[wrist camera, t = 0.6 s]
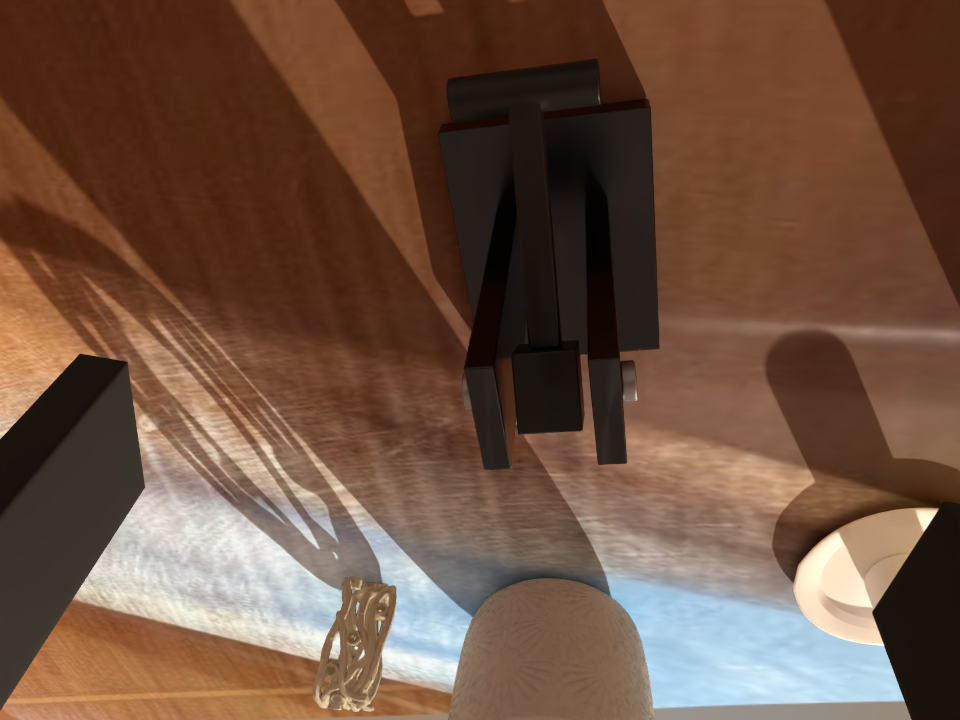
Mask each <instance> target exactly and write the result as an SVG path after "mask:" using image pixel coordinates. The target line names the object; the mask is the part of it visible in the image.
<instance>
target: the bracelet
mask: <svg viewBox="0 0 960 720" xmlns="http://www.w3.org/2000/svg"><path fill="white" fill-rule="evenodd" d="M362 581H363V580H362V579H360V578H356V577H350V578H345V579H344V580H343V584H342V585H343V591H342V601H343V604H342V607H341V610H340V611H338V612H337V613H336V620H335V622H334V624H333V626H332V627H331V629H330V631H329V633H328V635H327V637H326V640H325V642H324V645H323V648H322V653H321V659H320V665H319V670H318V674H317V677H316V680H315V682H314V685H313V698H314V700H315V702H316V703H317V704H318V706H320V707H322V708H324V709H326V708H329V709H334V710H341V708H342V709H347V710H350V709H351V710H352V712H353V711H354V712H356V711H357V712H358V711H359V710H360V709H362V710H365V711H366V712H371V711H373V710H374V707H373V706H372V705H371V704H370V703H371V701H372V700H373V698H374V696H375V695H376V693H377V689H378V686H379V682H380V679H381V675H382V655H381V654H382V651H383V648H384V645H385V642H386V640H387V637H388V634H389V631H390V629H391V625H392V622H393V619H394V615H395V610H396V603H397V596H396V587H395V586H390V587H389V586H388V584H376V583H371V582H365V583H363V586H362ZM361 586H362V587H361ZM352 589H355V590H356V591H355V592H354V593H353V594H352ZM382 600H383V602H384V603H381V601H382ZM357 601H358V602H359V603H360V604H359V607H358V611H357V614H356V604H357ZM378 620H381V627H380V631H379V634H378ZM356 627H357V628H358V631H356ZM338 632H339V633H340V648H341V650H340V655H339V657H338V659H337V660H336V659H332V658H330V659H329V656H330V651H331V648H332V644H333V641H334V640H335V638H336V636H337V634H338ZM355 637H356V638H355ZM354 638H355V640H354ZM360 640H361V643H360ZM355 646H357V647H358V649H357V650H355V649H354V647H355ZM363 650H364V651H365V655H364V657H363V658H361V659H360V660H359V658H360V656H361V654H362V652H363ZM358 660H359V661H358ZM330 666H333V668H332V667H330ZM347 666H348V670H347ZM361 670H362V672H361ZM360 672H361V674H360V676H359V678H358V680H357V677H358V675H359V673H360ZM325 676H328V677H331V679H330V685H329V686H328V687H327V688H326V689H325V690H324V691H323V693H322V692H321V688H322V685H323V682H324V679H325ZM369 688H371V690H370V692H369V694H368V695H367V690H368V689H369Z"/></svg>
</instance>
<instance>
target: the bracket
mask: <svg viewBox="0 0 960 720" xmlns="http://www.w3.org/2000/svg"><path fill="white" fill-rule="evenodd" d="M543 114H544V126H545V138H546V151H547V163H548V175H549V187H550V200H551V212H552V224H553V236H554V248H555V261H556V273H557V285H558V297H559V310H560V322H561V334H562V341H570V340H578V341H579V350H580V355H581V354H588V368H589V378H590V388H591V399H592V409H593V420H594V430H595V440H596V451H597V461H598V465H605V464H626V463H627V453H626V438H625V424H624V409H623V401H636V400H637V381H636V369H635V362H634V361H633V360H630V361H621V362H620V352H623V351H637V350H651V349H659V321H658V294H657V267H656V239H655V212H654V185H653V157H652V130H651V107H650V103H649V99H642V100H634V101H626V102H618V103H610V104H602V105H595V106H587V107H579V108H571V109H563V110H555V111H547V112H543ZM438 136H439V141H440V147H441V152H442V157H443V163H444V168H445V174H446V179H447V184H448V190H449V195H450V201H451V206H452V211H453V217H454V222H455V228H456V233H457V238H458V244H459V249H460V255H461V260H462V265H463V271H464V276H465V281H466V287H467V292H468V298H469V303H470V308H471V314H472V319H473V327H472V332H471V337H470V342H469V347H468V351H467V356H466V361H465V366H464V374H463V377H462V397H463V403H464V407H465V409H466V410H467V411H472V413H473V418H474V423H475V428H476V433H477V438H478V443H479V448H480V453H481V458H482V463H483V468H484V470H494V469H510V468H511V466H512V456H513V447H514V437H515V427H516V406H515V395H514V384H513V373H512V362H511V354H512V353H513V352H514V350H515V349H516V348H517V346H518V345H519V344H529V343H528V332H527V320H526V309H525V298H524V286H523V275H522V264H521V252H520V241H519V230H518V218H517V207H516V195H515V184H514V173H513V161H512V150H511V139H510V127H509V116H506V117H498V118H490V119H482V120H474V121H466V122H457V123H448V124H442V125H441V128H440V130H439V132H438Z"/></svg>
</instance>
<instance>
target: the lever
mask: <svg viewBox="0 0 960 720" xmlns="http://www.w3.org/2000/svg"><path fill="white" fill-rule="evenodd" d="M447 101H448V108H449V112H450V116H451V118H452V120H453V122H455V123H457V122H466V121H474V120H482V119H490V118H498V117H506V116H509V127H510V139H511V150H512V161H513V173H514V184H515V195H516V207H517V218H518V230H519V241H520V252H521V264H522V275H523V286H524V298H525V309H526V320H527V332H528V343H529V344H519V345H518V346H517V348H516V349H515V350H514V352H513V353H512V354H511V362H512V373H513V384H514V395H515V406H516V417H517V428H518V434H520V435H521V434H539V433H557V432H576V431H582V430H583V423H584V415H585V413H584V401H583V388H582V375H581V362H580V350H579V341H578V340H570V341H562V334H561V322H560V310H559V297H558V285H557V273H556V261H555V248H554V236H553V224H552V212H551V200H550V187H549V175H548V163H547V151H546V138H545V126H544V114H543V112H547V111H555V110H563V109H571V108H579V107H587V106H595V105H600V104H601V88H600V74H599V61H598V59H591V60H583V61H576V62H568V63H561V64H553V65H546V66H538V67H531V68H523V69H516V70H508V71H501V72H493V73H486V74H478V75H471V76H463V77H456V78H450V79H448V81H447Z"/></svg>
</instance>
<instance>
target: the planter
mask: <svg viewBox="0 0 960 720" xmlns="http://www.w3.org/2000/svg"><path fill="white" fill-rule="evenodd" d="M448 720H655V717H654V709H653V701H652V693H651V687H650V680H649V674H648V668H647V663H646V658H645V654H644V650H643V646H642V642H641V638H640V635H639V633H638V631H637V628H636V626H635V624H634V622H633V620H632V619H631V617H630V616H629V614H628V613H627V612H626V610H625V609H624V608H623V607H622V606H621V605H620V604H619V603H618V602H617V601H615V600H614V599H613V598H612V597H610V596H609V595H607V594H606V593H604V592H602V591H600V590H598V589H596V588H594V587H591V586H589V585H586V584H583V583H580V582H576V581H572V580H567V579H558V578H539V579H531V580H526V581H522V582H518V583H515V584H512V585H510V586H507V587H505V588H503V589H501V590H499V591H498V592H496V593H495V594H493V595H492V596H491V597H489V598H488V599H487V600H486V601H485V602H484V603H483V604H482V605H481V607H480V608H479V609H478V610H477V612H476V614H475V615H474V617H473V619H472V621H471V623H470V626H469V628H468V631H467V633H466V637H465V640H464V643H463V647H462V651H461V655H460V659H459V664H458V669H457V673H456V678H455V683H454V688H453V694H452V699H451V705H450V710H449V716H448Z"/></svg>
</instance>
